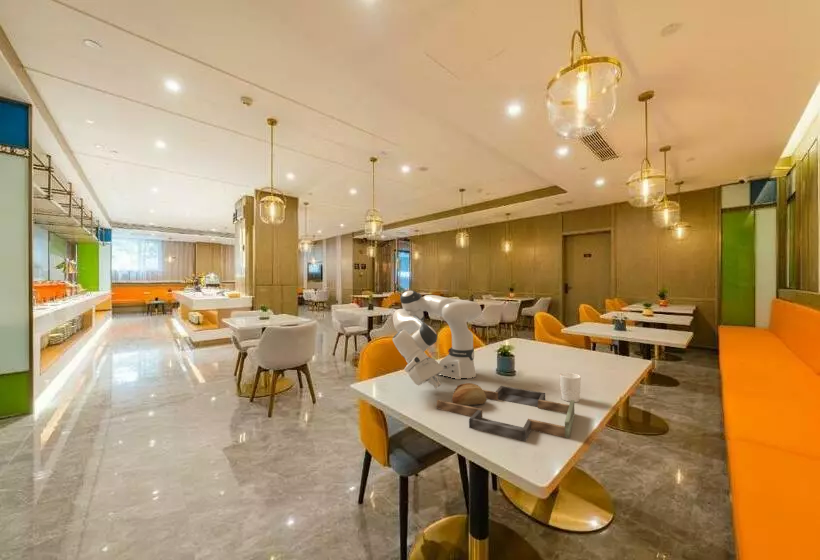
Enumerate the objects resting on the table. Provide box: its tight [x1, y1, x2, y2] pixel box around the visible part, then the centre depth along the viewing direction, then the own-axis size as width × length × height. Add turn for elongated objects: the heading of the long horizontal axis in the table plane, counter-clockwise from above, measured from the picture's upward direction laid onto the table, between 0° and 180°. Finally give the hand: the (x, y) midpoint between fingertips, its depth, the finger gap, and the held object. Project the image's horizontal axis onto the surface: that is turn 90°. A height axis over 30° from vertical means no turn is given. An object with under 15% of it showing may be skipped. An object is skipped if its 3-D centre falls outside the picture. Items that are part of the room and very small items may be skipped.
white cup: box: [559, 372, 582, 403], centre depth 133 cm, size 8×8×10 cm
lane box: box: [436, 384, 575, 442], centre depth 122 cm, size 47×39×5 cm
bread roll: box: [451, 382, 487, 406], centre depth 129 cm, size 10×15×8 cm, turn 110°
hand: (438, 386), depth 136 cm, fingers closed
